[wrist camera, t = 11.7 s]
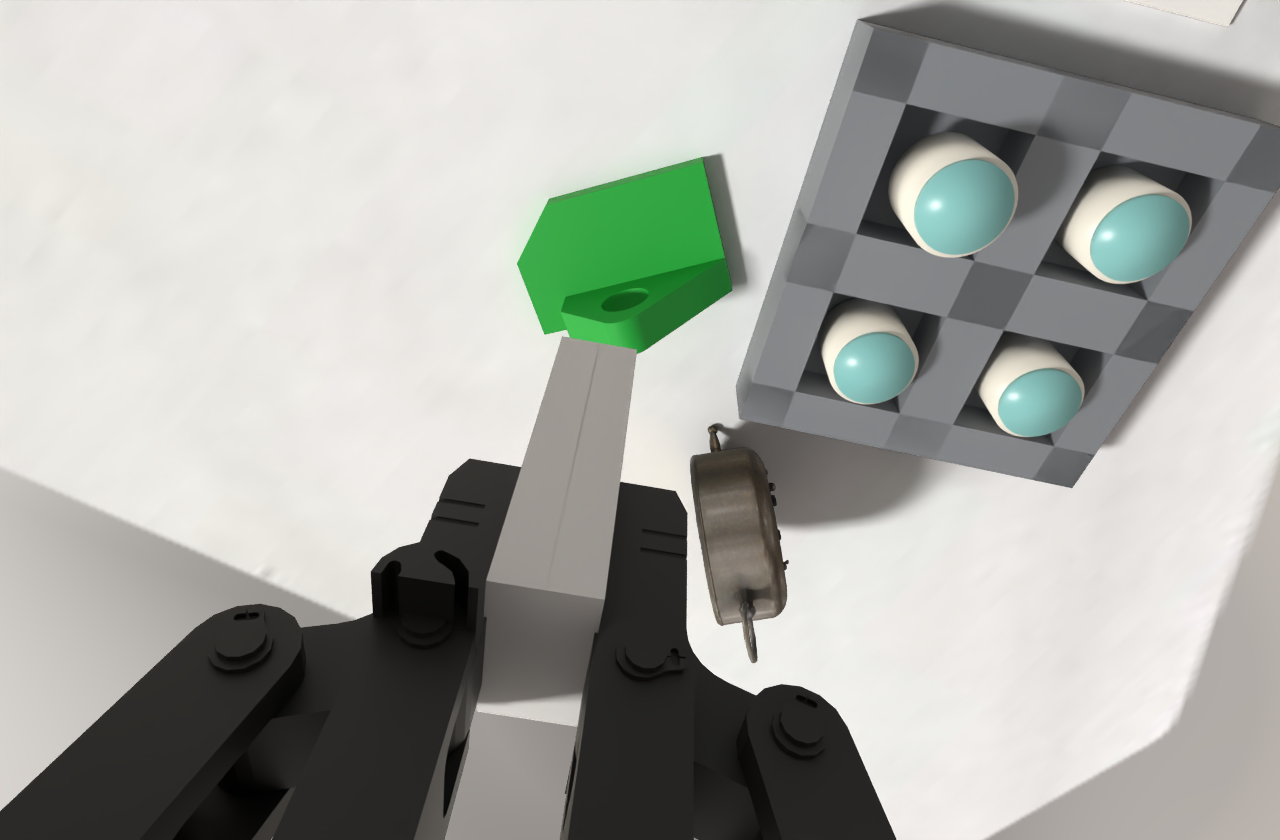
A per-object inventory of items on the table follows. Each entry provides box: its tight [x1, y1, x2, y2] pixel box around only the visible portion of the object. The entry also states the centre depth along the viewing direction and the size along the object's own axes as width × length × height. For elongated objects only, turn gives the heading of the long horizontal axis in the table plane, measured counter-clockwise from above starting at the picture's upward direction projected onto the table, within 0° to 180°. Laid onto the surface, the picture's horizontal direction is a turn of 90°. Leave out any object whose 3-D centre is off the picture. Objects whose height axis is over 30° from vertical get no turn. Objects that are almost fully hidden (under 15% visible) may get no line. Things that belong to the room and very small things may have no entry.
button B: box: [974, 332, 1085, 437], centre depth 45 cm, size 5×5×4 cm
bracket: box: [517, 157, 732, 354], centre depth 42 cm, size 12×8×7 cm, turn 106°
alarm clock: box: [690, 425, 789, 663], centre depth 47 cm, size 11×5×16 cm, turn 12°
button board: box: [736, 20, 1280, 488], centre depth 43 cm, size 22×22×4 cm
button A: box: [1054, 166, 1192, 284], centre depth 39 cm, size 5×5×4 cm
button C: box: [888, 132, 1018, 258], centre depth 37 cm, size 5×5×4 cm
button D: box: [818, 298, 919, 404], centre depth 44 cm, size 5×5×4 cm
